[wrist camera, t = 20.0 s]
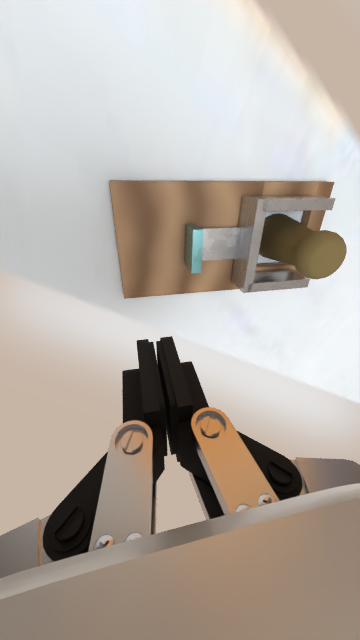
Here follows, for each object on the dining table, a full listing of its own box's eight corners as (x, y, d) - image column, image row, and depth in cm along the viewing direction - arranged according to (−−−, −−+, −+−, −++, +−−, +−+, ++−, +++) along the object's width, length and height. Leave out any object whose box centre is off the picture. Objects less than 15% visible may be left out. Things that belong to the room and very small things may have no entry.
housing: (184, 284, 33) (191, 297, 30) (186, 196, 27) (195, 199, 24) (290, 276, 36) (307, 287, 33) (311, 195, 30) (335, 198, 27)
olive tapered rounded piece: (301, 232, 34) (366, 254, 25) (270, 265, 36) (320, 296, 27) (278, 203, 32) (342, 216, 22) (245, 240, 33) (293, 266, 24)
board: (124, 293, 34) (124, 298, 33) (109, 180, 27) (109, 180, 25) (297, 279, 39) (303, 283, 38) (325, 181, 32) (334, 182, 30)
